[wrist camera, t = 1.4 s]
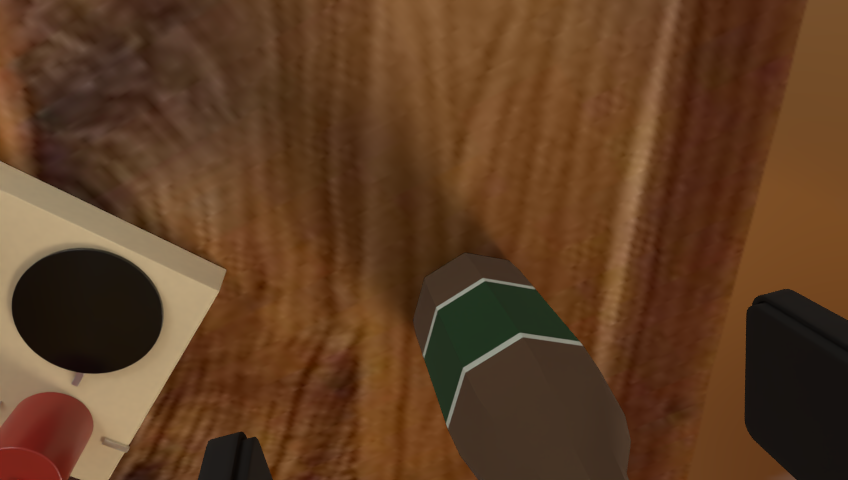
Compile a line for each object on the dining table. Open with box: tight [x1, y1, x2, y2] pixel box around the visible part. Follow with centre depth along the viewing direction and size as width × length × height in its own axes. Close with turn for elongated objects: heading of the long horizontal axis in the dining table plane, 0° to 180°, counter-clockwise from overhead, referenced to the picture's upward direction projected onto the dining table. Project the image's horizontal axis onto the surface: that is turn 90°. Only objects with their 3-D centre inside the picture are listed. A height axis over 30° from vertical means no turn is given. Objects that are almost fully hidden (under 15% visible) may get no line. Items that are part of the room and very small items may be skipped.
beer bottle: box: [413, 253, 631, 480], centre depth 26 cm, size 8×8×24 cm
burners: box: [12, 248, 164, 374], centre depth 29 cm, size 16×7×1 cm, turn 57°
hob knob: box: [0, 392, 94, 480], centre depth 30 cm, size 4×4×5 cm
